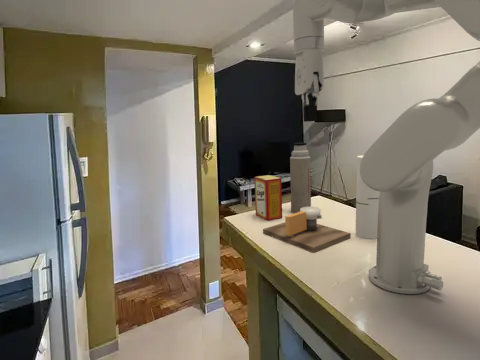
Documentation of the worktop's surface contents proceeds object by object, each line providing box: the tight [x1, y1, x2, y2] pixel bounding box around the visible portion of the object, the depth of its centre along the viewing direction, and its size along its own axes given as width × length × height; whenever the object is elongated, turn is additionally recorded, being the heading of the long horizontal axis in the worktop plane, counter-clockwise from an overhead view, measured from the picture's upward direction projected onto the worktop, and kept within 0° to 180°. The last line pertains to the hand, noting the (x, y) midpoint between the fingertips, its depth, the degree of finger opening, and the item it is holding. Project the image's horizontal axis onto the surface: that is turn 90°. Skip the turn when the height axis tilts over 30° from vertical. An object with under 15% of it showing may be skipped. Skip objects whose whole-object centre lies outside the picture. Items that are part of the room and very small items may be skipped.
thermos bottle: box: [289, 142, 312, 214], centre depth 128 cm, size 8×8×28 cm
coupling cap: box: [284, 206, 323, 236], centre depth 102 cm, size 14×8×6 cm, turn 129°
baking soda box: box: [253, 174, 283, 222], centre depth 125 cm, size 10×6×16 cm
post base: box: [262, 219, 351, 253], centre depth 103 cm, size 22×17×6 cm
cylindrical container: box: [355, 154, 380, 240], centre depth 99 cm, size 7×7×25 cm
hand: (310, 121), depth 85 cm, fingers closed
